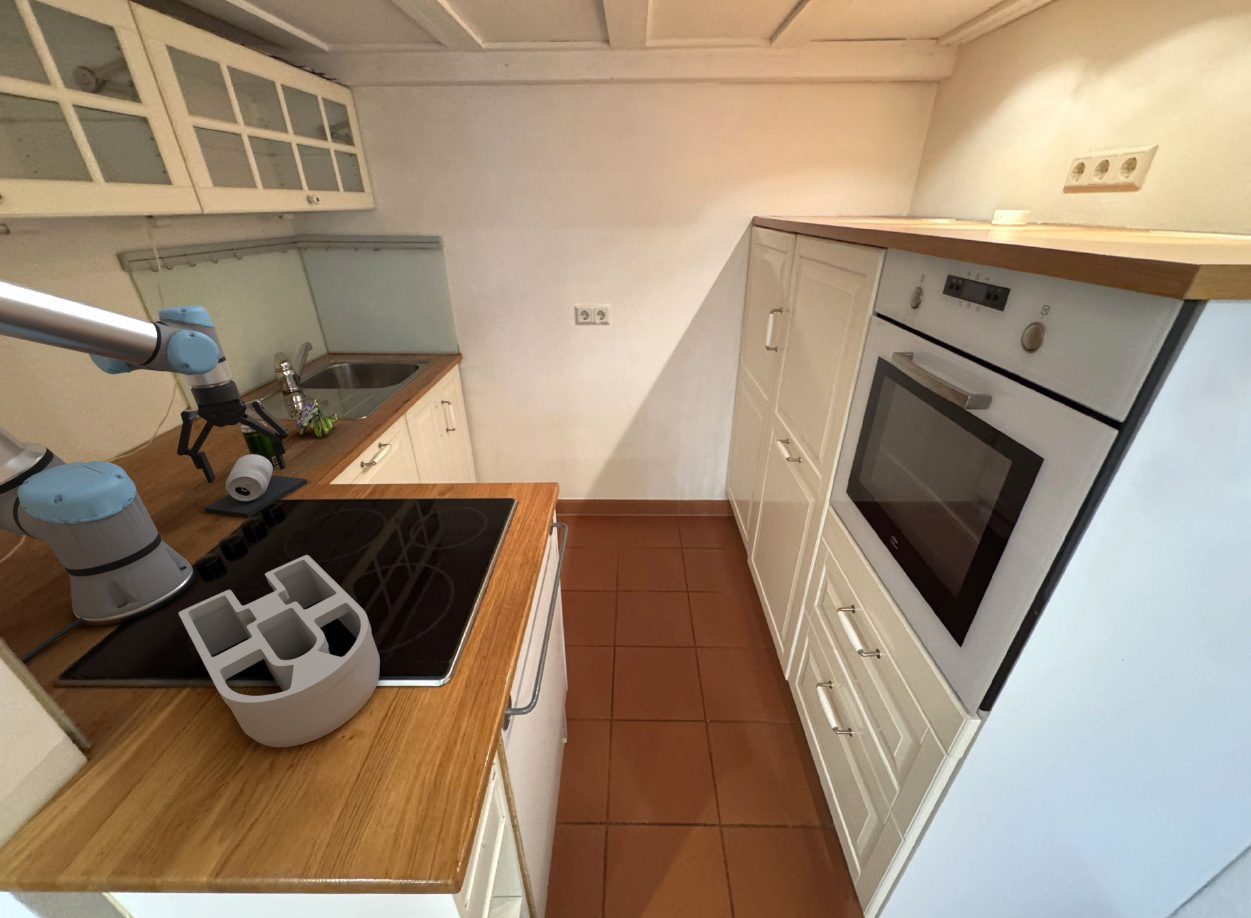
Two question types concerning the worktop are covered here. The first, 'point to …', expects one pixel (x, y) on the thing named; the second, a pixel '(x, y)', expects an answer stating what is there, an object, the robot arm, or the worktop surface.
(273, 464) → the beer can
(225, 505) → the mat
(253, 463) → the can
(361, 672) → the desk organizer caddy
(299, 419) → the purple flowering plant
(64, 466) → the robot arm
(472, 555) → the worktop surface
